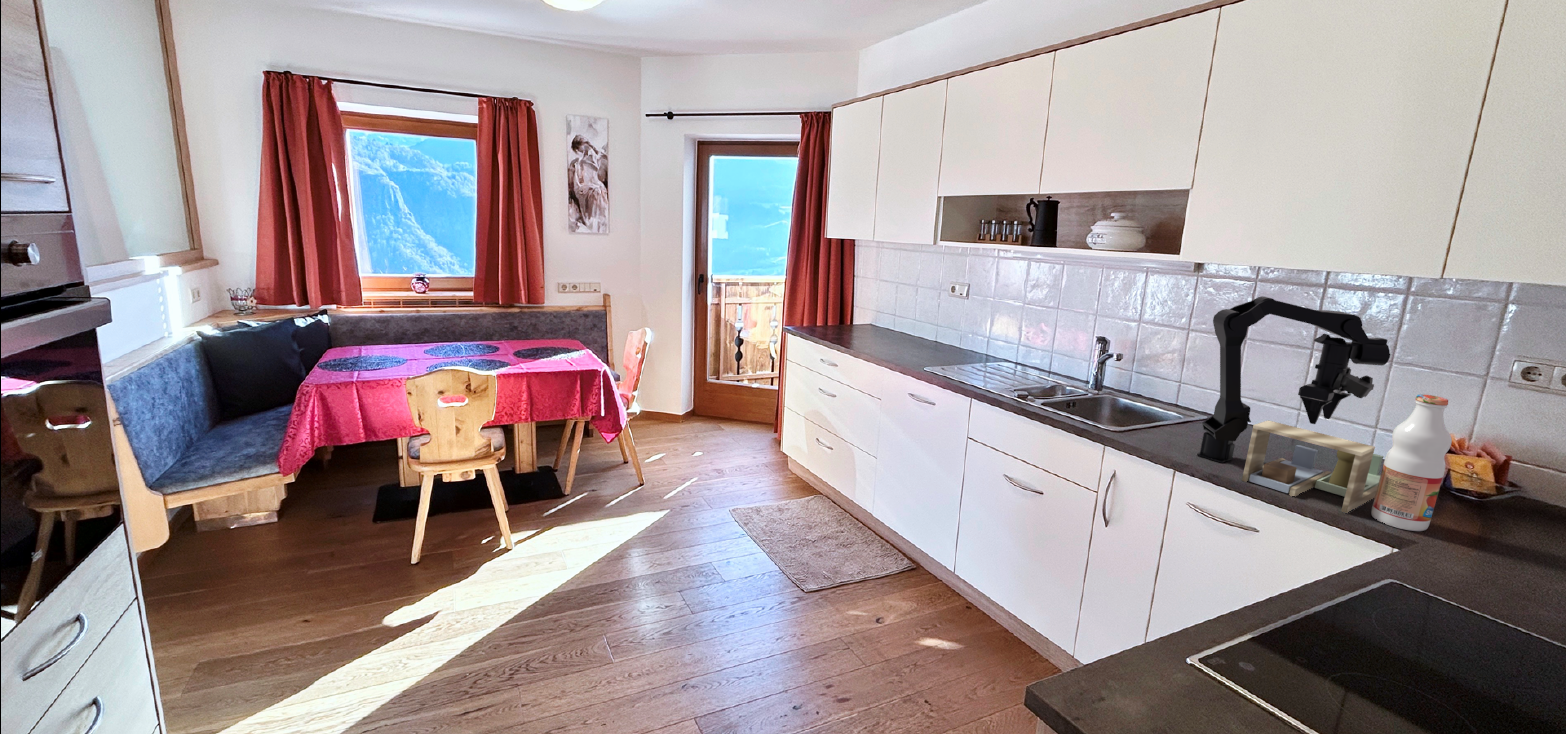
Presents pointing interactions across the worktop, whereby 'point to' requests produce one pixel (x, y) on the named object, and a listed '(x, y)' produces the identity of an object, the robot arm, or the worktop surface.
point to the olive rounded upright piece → (1342, 469)
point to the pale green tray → (1370, 482)
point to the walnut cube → (1279, 472)
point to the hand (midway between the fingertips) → (1319, 421)
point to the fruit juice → (1414, 467)
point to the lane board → (1356, 480)
